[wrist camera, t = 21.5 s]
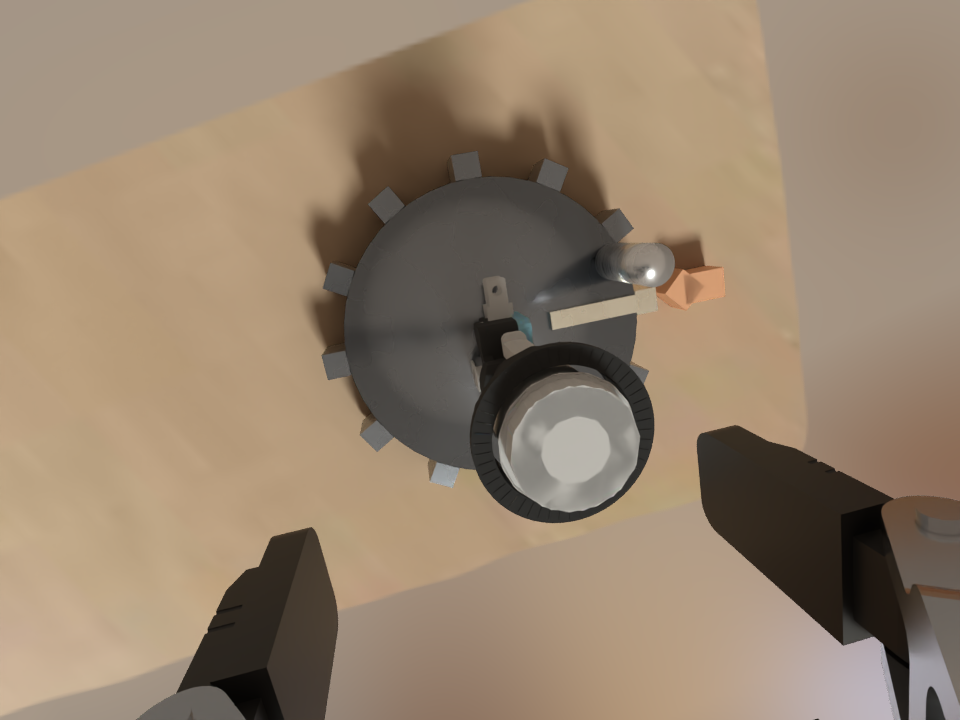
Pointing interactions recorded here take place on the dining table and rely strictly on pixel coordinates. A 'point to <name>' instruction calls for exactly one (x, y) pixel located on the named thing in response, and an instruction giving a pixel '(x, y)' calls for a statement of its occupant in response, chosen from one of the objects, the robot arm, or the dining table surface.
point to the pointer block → (692, 286)
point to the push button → (553, 419)
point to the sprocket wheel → (479, 298)
